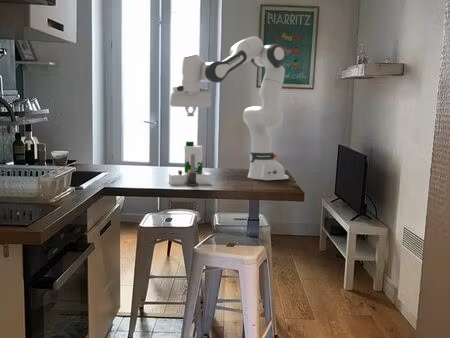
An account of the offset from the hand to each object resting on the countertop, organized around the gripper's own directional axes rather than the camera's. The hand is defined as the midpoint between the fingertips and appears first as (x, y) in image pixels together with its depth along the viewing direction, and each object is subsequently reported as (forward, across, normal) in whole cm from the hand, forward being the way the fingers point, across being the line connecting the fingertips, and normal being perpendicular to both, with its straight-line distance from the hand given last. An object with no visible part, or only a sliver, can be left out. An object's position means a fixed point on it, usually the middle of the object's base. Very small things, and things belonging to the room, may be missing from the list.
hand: (190, 116), depth 247 cm
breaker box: (+34, 0, 0) cm, 34 cm away
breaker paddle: (+29, 0, 0) cm, 29 cm away
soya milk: (+34, -4, -11) cm, 36 cm away
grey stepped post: (+34, 0, +7) cm, 34 cm away
